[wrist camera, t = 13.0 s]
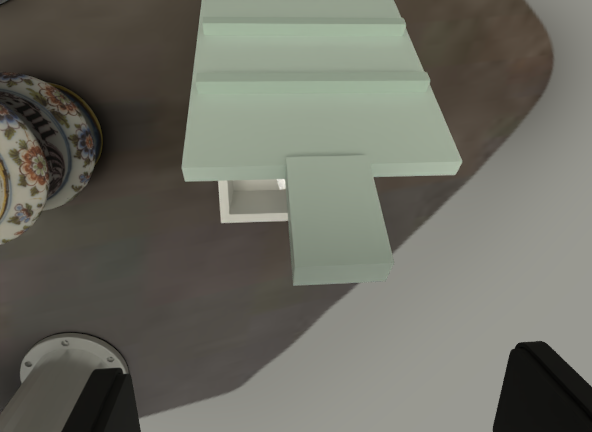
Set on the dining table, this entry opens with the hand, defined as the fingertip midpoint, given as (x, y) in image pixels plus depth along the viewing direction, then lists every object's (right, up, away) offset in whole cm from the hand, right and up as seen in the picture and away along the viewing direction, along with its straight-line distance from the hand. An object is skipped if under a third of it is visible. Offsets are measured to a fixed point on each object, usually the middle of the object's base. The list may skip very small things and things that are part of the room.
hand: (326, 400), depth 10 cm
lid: (0, +11, +15) cm, 18 cm away
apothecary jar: (-25, +13, +32) cm, 42 cm away
